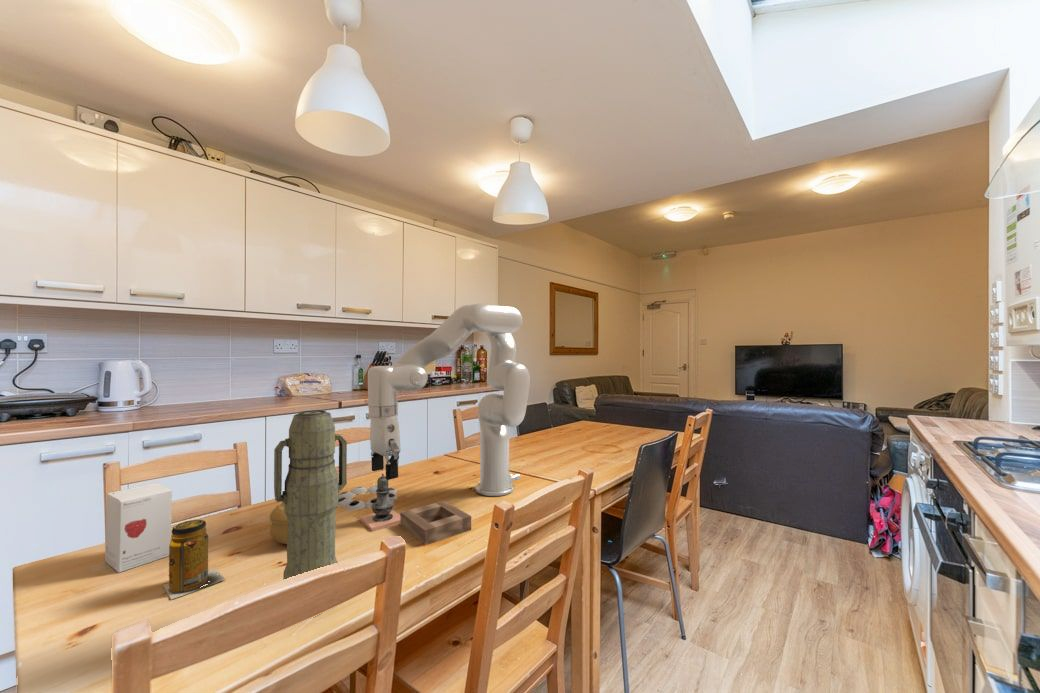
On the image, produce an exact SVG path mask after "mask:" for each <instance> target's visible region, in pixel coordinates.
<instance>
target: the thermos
mask: <svg viewBox="0 0 1040 693" xmlns="http://www.w3.org/2000/svg"><path fill="white" fill-rule="evenodd" d="M335 442H338V472H337V469H336V465H335V464H336V460H335V458H334V457H335V456H334V455H335V453H336V443H335ZM347 444H348V443H347V441H346V439H345V438H344V437H343V436H342V435H341V434H336V426H335V423H334V420H333V416H332V414H331V412H327V410H323V409H322V410H320V409H318V410H316V409H315V410H313V409H312V410H305V411H299V412H298V413H297V414H296V413H295V414H294V415H293V416H292V420H291V422H290V426H289V427H288V438H285V439H284V440H280V441H279V443H278V444H277V445H276V446H275V448H273V449H274V451H273V452H274V453H273V455H274V458H273V459H274V460H273V467H274V468H273V492H274V493H273V494H274V495H273V496H274V500H275V501H276V502H277V503H284V512H285V514H286V516H287V544H286V565H285V568H284V570H283V577H282V578H283V580H284V579H287V578H289V577H292V576H296V575H298V574H302V573H304V572H308V571H311V570H314V569H317V568H320V567H324V566H327V565H331V564H334V563H338V560H337V556H336V510H337V508H338V507H337V505H338V502H339V501H338V494H340V491H342V490H343V488H345V487H346V485H347V469H348V468H347V466H348V465H347V464H348V463H347V459H348V458H347V456H348V455H347V453H348V452H347V451H348V450H347V448H348V447H347ZM285 447H287V448H288V458H289V464H288V471H287V474H286V477H285V479H284V490H282V489H283V488H282V486H283V484H282V482H283V481H282V476H283V475H282V474H283V472H282V471H283V469H282V468H283V449H284V448H285ZM338 564H339V563H338Z"/></svg>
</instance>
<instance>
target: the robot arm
mask: <svg viewBox="0 0 1040 693" xmlns="http://www.w3.org/2000/svg"><path fill="white" fill-rule="evenodd" d="M522 326H523V315H522V313H521V311H519V310H518V309H517V308H516V307H514V306H510V305H509V306H508V305H498V304H497V305H495V304H488V303H474V304H473V303H472V304H466V305H462V306H460V307H458V308H457V309H455V311H453V312H452V314H450V315H449V316H448V317H447V318H446V319H445V320H444V321H443V322H442V323H441V324H440V325H439V326H438V327H437V328H436V329H434V331H433V332H432V333H431V334H429V335H428V336H426V337H424V338H423V339H422V340H420V341H419V342H417V343H416V344H414V345H413V346H412V347H410V348H409V349H408V350H406V351H405V352H404V353H403V354H401V356H399V358H398V359H396V361H394V363H392V364H391V365H377V366H376V365H374V366H371V367H369V368H368V369H367V399H368V401H367V402H368V403H367V404H368V407H367V408H368V419H370V425H369V428H370V431H369V436H370V437H369V445H370V450H371V453H370V456H371V471H372V472H378V471H381V470H384V469H385V477H386V479H387V480H388V481H389V480H394V479H397V478H399V463H400V461H399V459H400V453H401V436H400V425H399V420H398V416H399V414H398V413H399V412H398V407H399V406H398V405H399V404H398V403H399V402H398V392H416V391H419V390H421V389H423V388H424V387H425V386H426V384H427V383H428V377H429V376H428V373H427V371H426V369H425V367H427V366H428V365H430V364H432V363H433V362H436V361H439V360H441V359H444V358H446V357H448V356H450V355H452V354H453V353H454V352H456V350H457V349H458V348H459V347H460V346H461V345H462V344H463V343H464V342H465V341H466V340H467V339H468V338H469V336H471V335H472V334H473V333H475V332H476V333H478V332H484V333H485V334H486V336H487V337H488V339H489V343H490V356H489V360H488V361H489V363H488V368H487V374H486V382H487V385H488V387H490V388H491V389H493V390H495V391H496V390H497V391H502V392H503V394H497V393H489V394H487V395H485V396H483V397H482V398H481V399H479V402H478V405H477V416H478V422H479V432H480V438H479V439H480V444H479V445H480V446H479V447H480V449H479V450H480V451H479V452H480V454H479V455H480V456H479V458H480V461H479V462H480V463H479V464H480V466H479V470H480V471H479V472H480V473H479V476H480V479H479V483H477V484H476V485H475V488H474V489H475V492H476V493H477V494H479V495H481V496H487V497H500V496H506V495H509V494H510V493H512V492H513V491H514V485H513V482H514V481H518V480H520V479H521V474H519V473H515V474H512V473H510V433H509V429H508V428H514V427H518V426H519V425H520V424H522V422H523V421H524V419H525V416H526V413H527V407H528V399H529V392H530V387H531V386H530V385H531V377H530V372H529V370H528V368H527V367H526V366H525V365H524V364H523V363H519V362H516V356H517V345H516V341H515V338H514V337H513V334H514V333H516V332H518V331H520V329H521V327H522ZM384 458H385V462H386V464H385V465H384Z"/></svg>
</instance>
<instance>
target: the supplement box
mask: <svg viewBox="0 0 1040 693" xmlns="http://www.w3.org/2000/svg"><path fill="white" fill-rule="evenodd" d="M172 491H173V489H172V488H170V487H167V486H164V485H162V484H161V483H159V482H156V483H155V482H154V483H152V484H151V483H150V484H148V485H147V484H146V485H142V486H137V487H131V488H127V489H122V490H118V491H114V492H113V491H112V492H108V493H106V505H105V506H106V507H105V508H106V509H105V510H106V512H105V513H106V515H105V544H104V545H105V547H104V548H105V549H104V550H105V552H104V554H105V555H104V556H105V557H104V562H106V563H107V564H108V565H109V566H110V567H111V568H113V569H114V570H115V571H116V572H117V573H121V572H125V571H128V570H132V569H133V568H136V567H140V566H142V565H143V566H144V565H147V564H149V563H151V562H155V561H158V560H161V559H163V558H167V557H169V544H170V542H171V541H172V505H173V504H172V501H173V500H172V499H173V497H172V496H173V495H172V493H173V492H172Z"/></svg>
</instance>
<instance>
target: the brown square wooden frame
mask: <svg viewBox="0 0 1040 693" xmlns="http://www.w3.org/2000/svg"><path fill="white" fill-rule="evenodd" d="M399 515H400V523H399V524H400V527H402V528H403V529H404V530H405V531H406V532H408V533H409V534H411V535H412V536H413V537H415V538H416V539H417V540H418V541H419V542H421V543H422V544H423V545H424V546H426V545H430V544H432V543H436V542H439V541H441V540H444V539H445V540H446V539H448V538H450V537H453V536H457V535H460V534H463V533H466V532H468V531H472V515H470V514H468V513H467V512H465V511H463V510H461V509H459V508H458V507H456V506H455V505H453V504H450V503H449V502H447V501H445V500H441V501H438V502H434V503H430V504H427V505H422V506H419V507H415V508H411V509H408V510H404V511H401V512H400V514H399Z"/></svg>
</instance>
